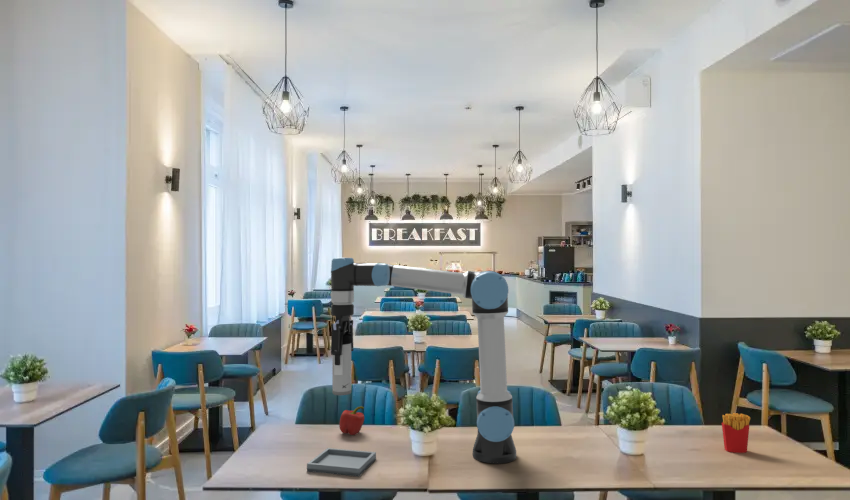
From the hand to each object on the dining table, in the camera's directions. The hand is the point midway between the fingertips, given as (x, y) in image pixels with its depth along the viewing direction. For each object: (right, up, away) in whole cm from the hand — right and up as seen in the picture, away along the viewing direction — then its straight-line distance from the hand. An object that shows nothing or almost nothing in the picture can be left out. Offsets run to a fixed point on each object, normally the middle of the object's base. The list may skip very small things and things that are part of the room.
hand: (342, 372), depth 192 cm
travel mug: (0, -7, 0) cm, 7 cm away
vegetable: (-1, -32, +35) cm, 47 cm away
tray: (0, -31, 0) cm, 31 cm away
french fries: (+139, -31, +13) cm, 143 cm away
